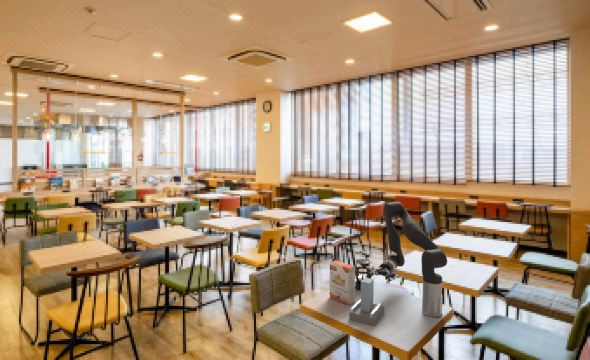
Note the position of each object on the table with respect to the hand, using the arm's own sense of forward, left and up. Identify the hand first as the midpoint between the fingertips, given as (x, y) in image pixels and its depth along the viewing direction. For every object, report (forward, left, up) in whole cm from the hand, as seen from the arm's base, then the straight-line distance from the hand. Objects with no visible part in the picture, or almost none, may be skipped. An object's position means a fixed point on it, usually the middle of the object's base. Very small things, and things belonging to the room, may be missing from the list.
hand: (378, 276), depth 187 cm
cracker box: (+20, +3, -17) cm, 26 cm away
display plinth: (+1, +14, -17) cm, 22 cm away
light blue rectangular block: (+1, +14, -13) cm, 19 cm away
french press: (+16, -19, -17) cm, 30 cm away
